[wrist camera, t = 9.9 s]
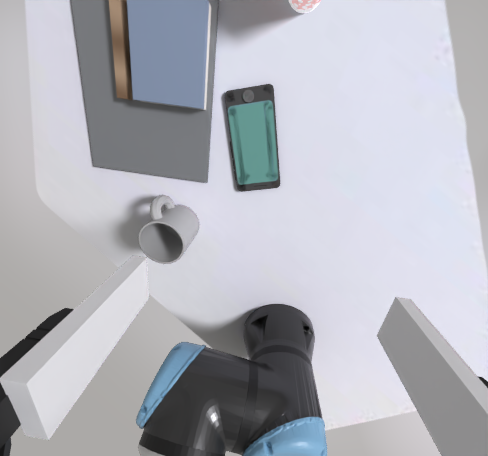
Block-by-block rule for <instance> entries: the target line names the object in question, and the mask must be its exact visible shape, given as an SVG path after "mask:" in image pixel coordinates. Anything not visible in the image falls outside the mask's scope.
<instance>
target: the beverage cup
mask: <svg viewBox="0 0 488 456" xmlns="http://www.w3.org/2000/svg"><path fill="white" fill-rule="evenodd" d="M320 1H321V0H289V3H290V5H291V7H292V8H293V9H294V10H295V11H296V12H299V13H303V14H304V13H308V12H311V11H312V10H314V9H315V8H316V7H317V6H318V5H319V3H320Z"/></svg>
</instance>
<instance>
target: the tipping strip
mask: <svg viewBox="0 0 488 456" xmlns="http://www.w3.org/2000/svg"><path fill="white" fill-rule="evenodd" d="M109 9H110V20H111V32H112V44H113V56H114V68H115V79H116V91H117V98H121V99H127V100H132V85H131V69H130V53H129V36H128V20H127V4H126V0H109Z"/></svg>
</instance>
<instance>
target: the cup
mask: <svg viewBox="0 0 488 456" xmlns="http://www.w3.org/2000/svg"><path fill="white" fill-rule="evenodd" d="M162 205H164V206H165V208H166V210H164V211H163V212H162V213H161V207H162ZM150 214H151V218H152V220H151V221H150V222H149V223H147V224H146V225H145V226H143V227H142V229H141V230H140V233H139V236H138V239H139V245H140V248H141V249H142V251H143V253H144V254H145V255H146V256H147V257H148V258H150V259H151V260H153V261H155V262H158V263H162V264H170V263H173V262H176V261H177V260H179V259H180V258H181V256H182V255H183V254H184V252H185V251H186V249H187V248H188V246H189V245H190V243H191V242H192V240H193V239H194V237H195V236H196V235H197V233H198V230H199V219H198V217H197V215H196V214H195V212H194V211H193V210H191V209H190V208H189V207H186V206H184V205H174V203H173V201H172V199H171V198H170V197H169V196H166V195H159V196H157V197H156V198H155V199H154V200H153V201H152V202H151V205H150Z"/></svg>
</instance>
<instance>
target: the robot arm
mask: <svg viewBox="0 0 488 456" xmlns="http://www.w3.org/2000/svg"><path fill="white" fill-rule="evenodd" d="M148 299H149V290H148V271H147V257H140V256H134V255H133V256H132V257H131V258H129V259H128V260H127V261H126V262H125V263H124V264H123V265H122V266H121V267H120V268H119V269H117V270H116V272H114V273H113V274H112V275H111V276H110V277H109V278H108V279H107V280H106V281H105V282H103V283H102V284H101V285H100V286H99V287H98V288H97V289H96V290H95V291H94V292H93V293H92V294H90V295H89V296H88V297H87V298H86V299H85V300H84V301H83V302H82V303H81V304H79V305H78V306H77V307H76V308H75V309H69V308H64V309H62V310H61V311H59V312H57V313H55V314H53V315H52V316H50V317H48V318H47V319H46V320H45V321H44V322H42V323H41V324H40V325H39V326H38V327H37V329H36V330H33V331H32V332H31V333H30V334H28V335H27V336H26V338H25V339H23V340H22V341H20V342H19V343H18V344H17V345H15V347H13V348H12V349H11V350H10V351H8V352H7V353H6V354H5V355H4V356H3V357H1V358H0V456H9V455H10V449H11V438H10V437H11V436H12V435H13V433H14V432H15V431H16V430H17V429H18V427H19V426H20V425H21V428H22V430H23V432H24V434H25V435H26V436H30V437H35V438H41V439H46V440H49V439H50V437H51V436H52V434H53V433H54V432H55V430H56V429H57V427H58V426H59V425H60V423H61V422H62V420H63V419H64V418H65V416H66V415H67V413H68V412H69V411H70V409H71V408H72V406H73V405H74V403H75V402H76V401H77V399H78V398H79V396H80V395H81V394H82V392H83V391H84V389H85V388H86V386H87V385H88V384H89V382H90V381H91V379H92V378H93V377H94V375H95V374H96V372H97V371H98V370H99V368H100V367H101V365H102V364H103V362H104V361H105V360H106V358H107V357H108V355H109V354H110V353H111V351H112V350H113V348H114V347H115V346H116V344H117V343H118V341H119V340H120V338H121V337H122V336H123V334H124V333H125V331H126V330H127V329H128V327H129V326H130V324H131V323H132V321H133V320H134V319H135V317H136V316H137V314H138V313H139V312H140V310H141V309H142V307H143V306H144V305H145V303H146V302H147V300H148ZM377 337H378V339H379V341H380V343H381V345H382V346H383V348H384V350H385V352H386V354H387V356H388V358H389V359H390V361H391V363H392V365H393V367H394V369H395V370H396V372H397V374H398V376H399V378H400V380H401V382H402V383H403V385H404V387H405V389H406V391H407V393H408V394H409V396H410V398H411V400H412V402H413V404H414V406H415V407H416V409H417V411H418V413H419V415H420V417H421V418H422V420H423V422H424V424H425V426H426V428H427V430H428V431H429V433H430V435H431V437H432V439H433V441H434V443H435V444H436V446H437V448H438V450H439V452H440V454H441V455H442V456H488V382H487V381H486V380H485V379H484V378H482V377H478V376H477V375H476V374H475V373H474V372H473V371H472V370H471V368H470V367H469V366H468V365H467V364H466V363H465V361H464V360H463V359H462V358H461V357H460V356H459V354H458V353H457V352H456V351H455V350H454V349H453V348H452V346H451V345H450V344H449V343H448V342H447V341H446V339H445V338H444V337H443V336H442V335H441V334H440V332H439V331H438V330H437V329H436V328H435V327H434V326H433V324H432V323H431V322H430V321H429V320H428V319H427V317H426V316H425V315H424V314H423V313H422V312H421V310H420V309H419V308H418V307H417V306H416V305H415V304H414V302H413V301H412V300H411V299H406V298H399V297H395V299H394V302H393V304H392V306H391V308H390V310H389V312H388V314H387V316H386V318H385V320H384V322H383V324H382V326H381V328H380V330H379V332H378V334H377ZM244 341H245V345H246V349H247V353H248V356H249V360H248V359H245V358H241V357H238V356H234V355H231V354H227V353H224V352H221V351H217V350H214V349H211V348H207V347H206V346H205V345H202V346H201V345H197V344H193V343H188V342H181V343H179V344H177V345H176V346H175V347H174V348H173V349H172V350H171V351H170V353H169V354H168V356H167V357H166V359H165V361H164V362H163V364H162V366H161V367H160V369H159V371H158V373H157V375H156V376H155V379H154V380H153V382H152V384H151V386H150V388H149V390H148V392H147V394H146V397H145V399H144V401H143V404H142V406H141V409H140V411H139V413H138V415H137V419H136V423H137V425H138V426H139V427H140V428H141V429H143V428H144V427H145V428H144V432H143V434H142V437H141V440H140V442H139V445H138V449H139V452H140V456H225V452H226V451H230V452H233V453H237V454H240V455H242V456H327V445H326V437H325V429H324V428H325V424H324V421H323V419H322V414H321V409H320V404H319V399H318V394H317V389H316V384H315V379H314V374H313V369H312V364H311V361H312V354H313V348H314V342H315V336H314V331H313V326H312V323H311V321H310V319H309V318H308V317H307V316H306V315H305V314H304V313H303V312H302V311H300V310H298V309H296V308H294V307H291V306H288V305H281V304H274V305H268V306H264V307H261V308H259V309H257V310H256V311H254V312H253V313H252V314H251V315H250V316H249V317H248V319H247V320H246V323H245V328H244Z"/></svg>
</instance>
